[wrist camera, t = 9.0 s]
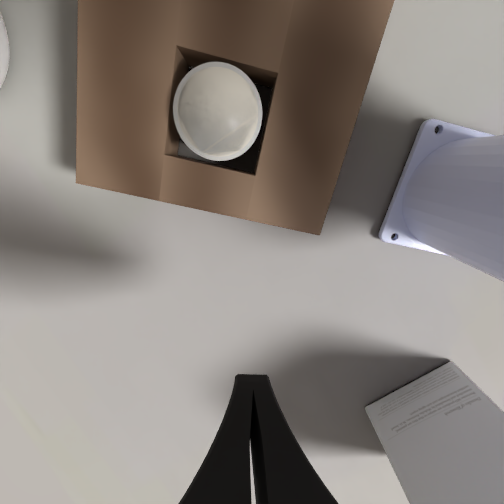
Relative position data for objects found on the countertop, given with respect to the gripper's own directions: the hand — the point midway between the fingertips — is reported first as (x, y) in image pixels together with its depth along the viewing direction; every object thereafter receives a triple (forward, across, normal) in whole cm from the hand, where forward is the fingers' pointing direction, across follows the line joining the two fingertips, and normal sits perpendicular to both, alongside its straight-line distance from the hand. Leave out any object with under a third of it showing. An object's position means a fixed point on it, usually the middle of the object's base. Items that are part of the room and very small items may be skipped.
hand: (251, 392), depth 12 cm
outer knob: (+9, +2, -11) cm, 15 cm away
